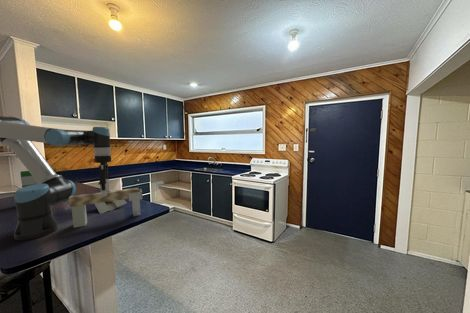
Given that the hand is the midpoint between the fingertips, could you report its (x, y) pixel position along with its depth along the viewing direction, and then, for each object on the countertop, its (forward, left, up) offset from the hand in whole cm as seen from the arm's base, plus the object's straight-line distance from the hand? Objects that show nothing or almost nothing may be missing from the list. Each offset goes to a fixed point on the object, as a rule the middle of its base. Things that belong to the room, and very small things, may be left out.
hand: (105, 192), depth 108 cm
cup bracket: (+15, 0, -16) cm, 22 cm away
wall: (0, +22, -16) cm, 27 cm away
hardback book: (-45, +62, -16) cm, 78 cm away
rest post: (-12, 0, -16) cm, 20 cm away
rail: (0, 0, -5) cm, 5 cm away
